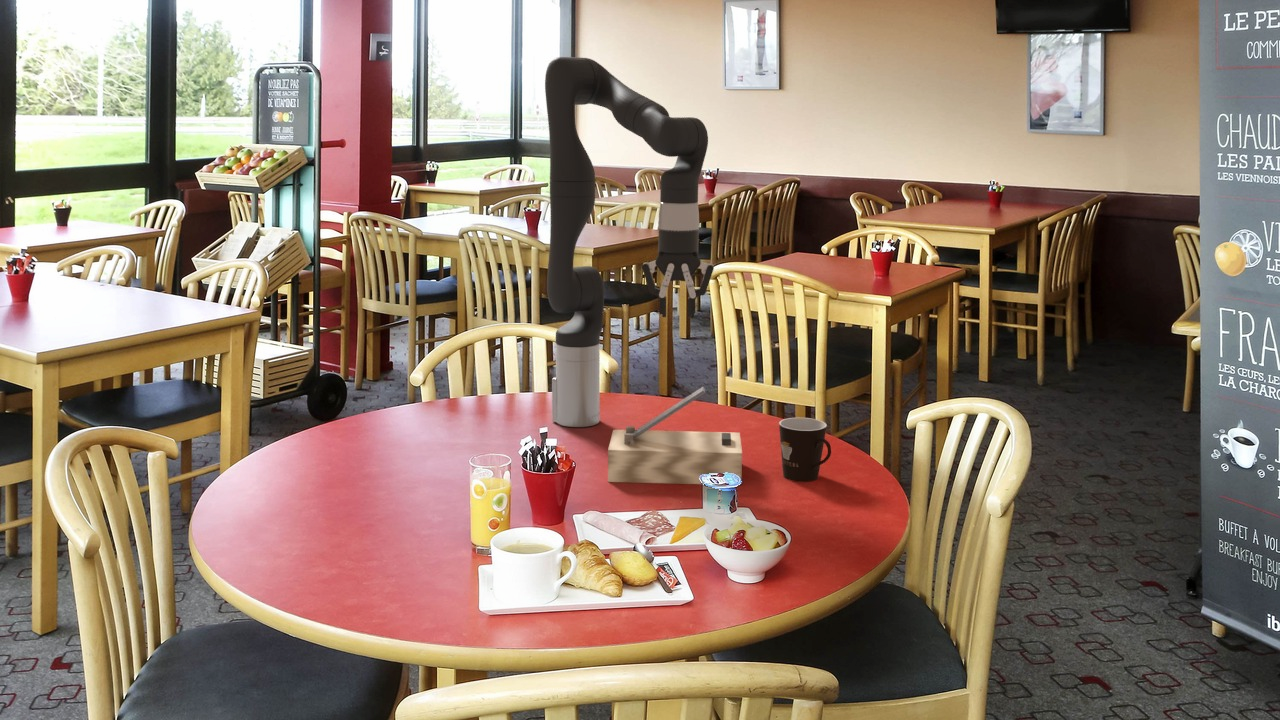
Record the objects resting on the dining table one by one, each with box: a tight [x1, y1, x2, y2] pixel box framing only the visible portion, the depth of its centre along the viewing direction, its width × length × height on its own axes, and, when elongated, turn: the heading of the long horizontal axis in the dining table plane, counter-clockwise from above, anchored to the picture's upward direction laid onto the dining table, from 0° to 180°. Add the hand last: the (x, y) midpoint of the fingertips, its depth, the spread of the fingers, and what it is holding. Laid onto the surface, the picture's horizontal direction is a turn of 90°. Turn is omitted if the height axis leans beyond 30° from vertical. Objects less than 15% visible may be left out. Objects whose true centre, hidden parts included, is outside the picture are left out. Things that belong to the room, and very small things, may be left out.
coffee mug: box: [778, 417, 832, 483], centre depth 210 cm, size 12×9×10 cm
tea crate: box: [607, 425, 743, 485], centre depth 213 cm, size 24×13×8 cm, turn 87°
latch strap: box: [632, 386, 706, 439], centre depth 212 cm, size 16×3×1 cm
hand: (677, 316), depth 219 cm, fingers open, 4 cm apart
